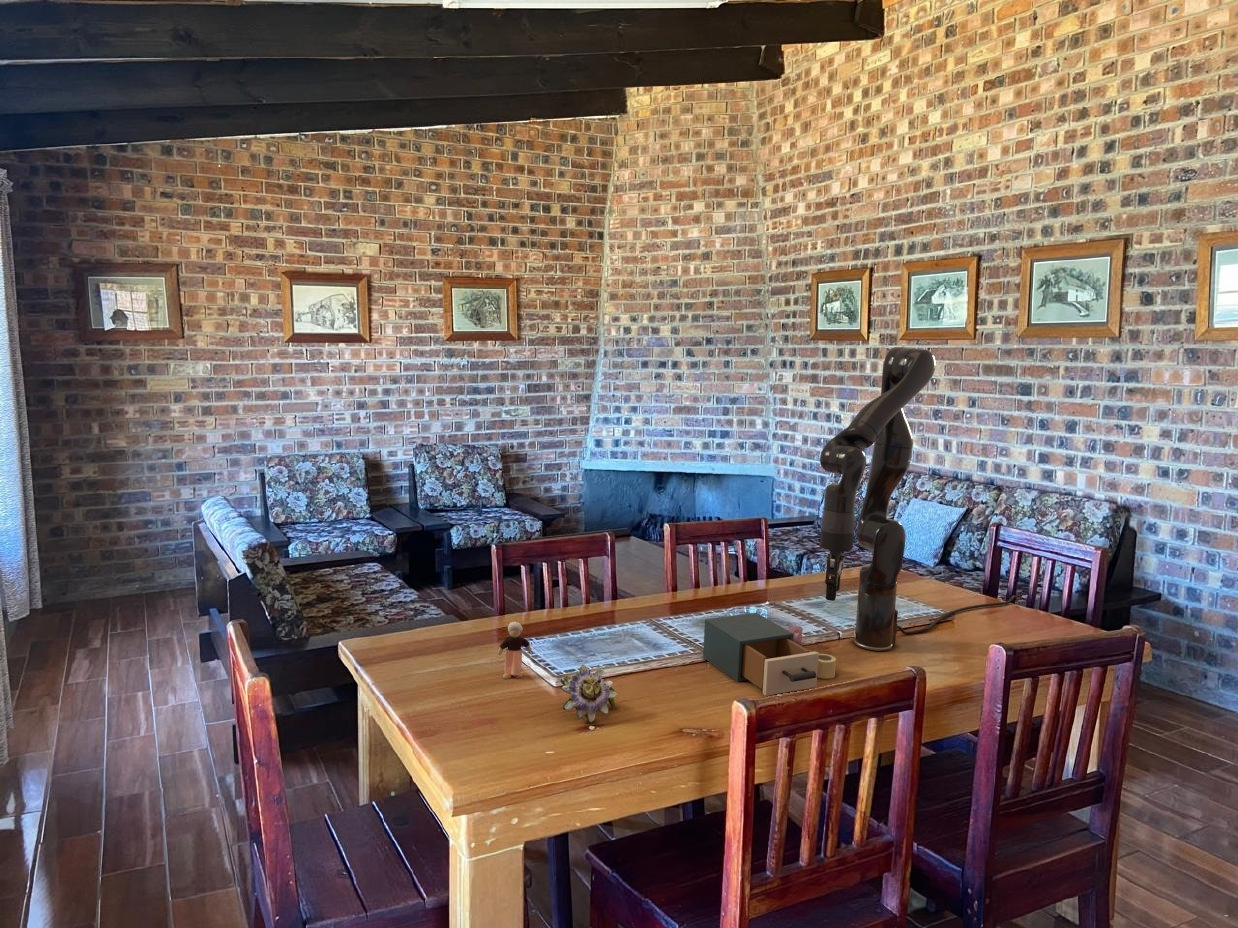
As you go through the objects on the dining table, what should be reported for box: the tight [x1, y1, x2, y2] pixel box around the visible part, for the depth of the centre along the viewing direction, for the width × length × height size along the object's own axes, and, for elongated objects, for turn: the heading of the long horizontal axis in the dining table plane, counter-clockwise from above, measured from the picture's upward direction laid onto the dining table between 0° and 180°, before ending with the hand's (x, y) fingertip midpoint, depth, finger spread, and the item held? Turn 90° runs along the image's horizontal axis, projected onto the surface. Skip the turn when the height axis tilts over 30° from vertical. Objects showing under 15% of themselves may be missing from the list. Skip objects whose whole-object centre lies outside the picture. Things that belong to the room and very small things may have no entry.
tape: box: [817, 653, 837, 680], centre depth 203 cm, size 5×5×4 cm
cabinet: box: [702, 612, 794, 683], centre depth 206 cm, size 16×15×10 cm
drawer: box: [741, 638, 820, 697], centre depth 195 cm, size 19×13×8 cm
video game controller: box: [787, 624, 804, 647], centre depth 218 cm, size 10×5×7 cm, turn 168°
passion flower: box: [559, 663, 618, 723], centre depth 179 cm, size 11×11×12 cm
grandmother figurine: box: [496, 620, 533, 680], centre depth 196 cm, size 8×4×13 cm, turn 117°
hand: (832, 594), depth 208 cm, fingers open, 8 cm apart
